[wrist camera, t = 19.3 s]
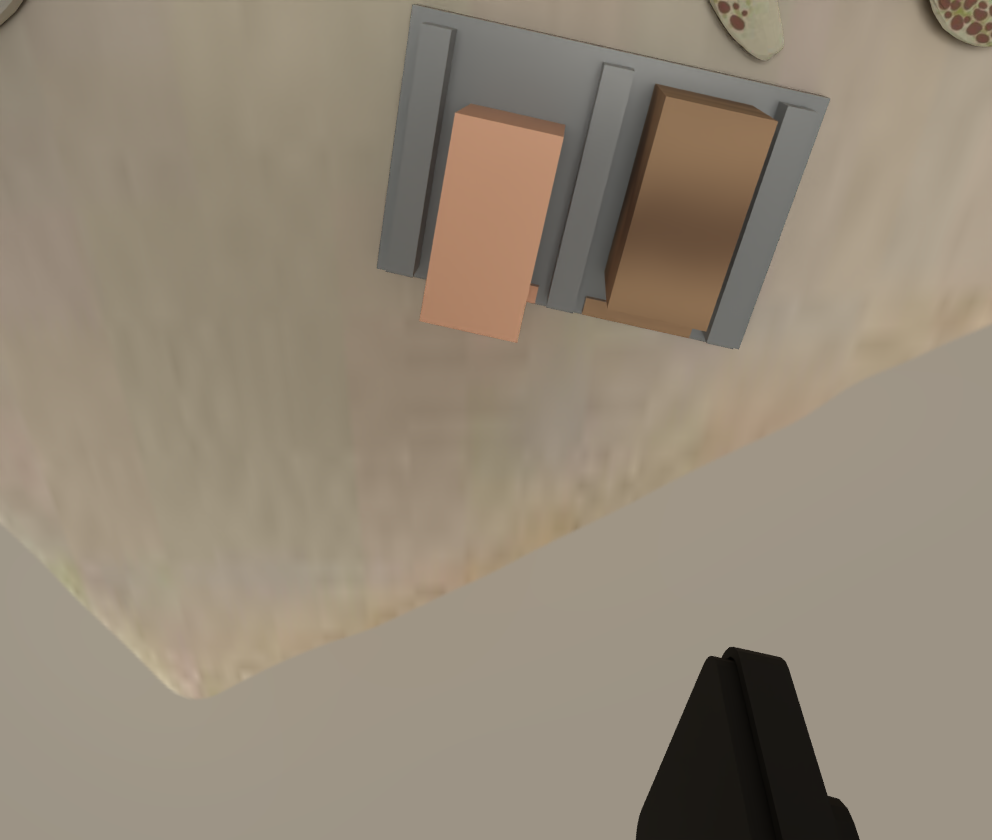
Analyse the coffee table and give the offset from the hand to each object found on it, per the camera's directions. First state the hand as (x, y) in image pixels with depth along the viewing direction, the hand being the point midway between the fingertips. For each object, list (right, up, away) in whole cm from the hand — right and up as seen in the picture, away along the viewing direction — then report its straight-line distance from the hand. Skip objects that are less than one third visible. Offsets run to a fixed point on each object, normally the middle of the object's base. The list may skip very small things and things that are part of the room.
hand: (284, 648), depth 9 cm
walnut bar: (+10, +12, +26) cm, 30 cm away
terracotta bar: (+3, +12, +27) cm, 29 cm away
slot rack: (+6, +13, +27) cm, 31 cm away
